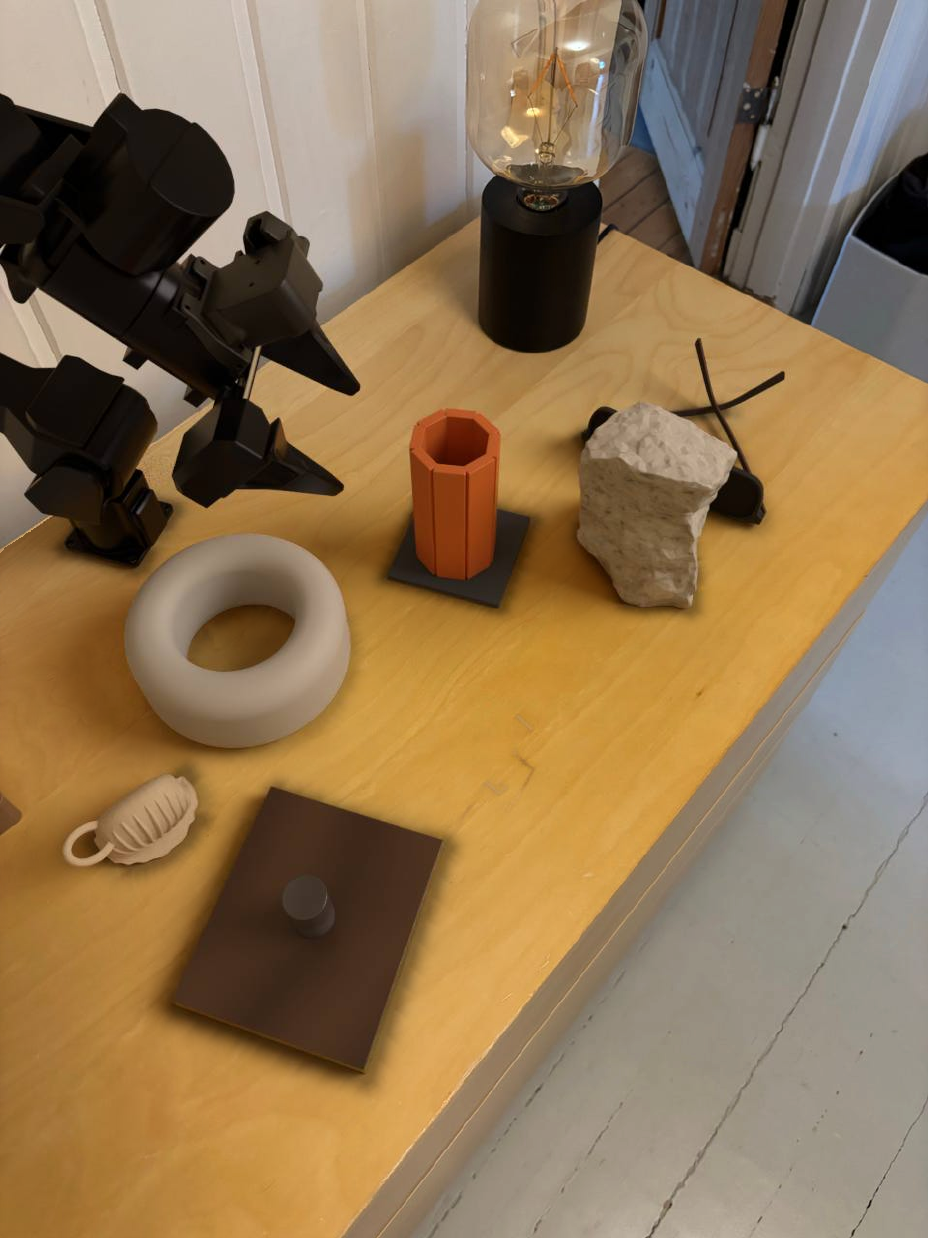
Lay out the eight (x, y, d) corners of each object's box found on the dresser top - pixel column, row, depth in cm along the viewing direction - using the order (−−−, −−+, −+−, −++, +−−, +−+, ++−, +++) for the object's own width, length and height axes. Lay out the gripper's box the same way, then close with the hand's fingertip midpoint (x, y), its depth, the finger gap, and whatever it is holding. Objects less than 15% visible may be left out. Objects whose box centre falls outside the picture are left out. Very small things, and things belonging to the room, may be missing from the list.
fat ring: (321, 555, 74) (309, 500, 68) (378, 714, 66) (371, 667, 60) (129, 610, 71) (101, 557, 65) (166, 783, 63) (138, 741, 58)
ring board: (177, 1006, 56) (151, 985, 51) (274, 794, 63) (259, 760, 58) (366, 1074, 54) (357, 1059, 49) (444, 847, 61) (442, 816, 56)
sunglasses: (824, 431, 81) (844, 388, 77) (751, 538, 75) (768, 497, 71) (654, 355, 86) (664, 310, 82) (572, 448, 80) (578, 405, 76)
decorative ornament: (216, 819, 62) (197, 787, 57) (101, 899, 59) (72, 872, 54) (184, 775, 64) (164, 740, 59) (71, 851, 61) (41, 821, 56)
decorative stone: (717, 537, 75) (766, 402, 63) (683, 625, 70) (730, 497, 58) (596, 497, 77) (621, 359, 65) (556, 580, 72) (575, 448, 60)
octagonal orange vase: (448, 592, 71) (446, 487, 61) (402, 542, 74) (393, 434, 64) (509, 553, 73) (517, 446, 63) (463, 506, 76) (463, 396, 66)
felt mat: (387, 578, 73) (386, 575, 72) (425, 494, 77) (425, 490, 77) (498, 608, 71) (498, 605, 71) (530, 520, 76) (530, 516, 75)
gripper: (177, 328, 44) (418, 492, 53) (248, 114, 54) (441, 282, 63) (71, 439, 51) (300, 568, 60) (152, 230, 61) (337, 367, 70)
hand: (348, 439), depth 63 cm, fingers open, 9 cm apart
